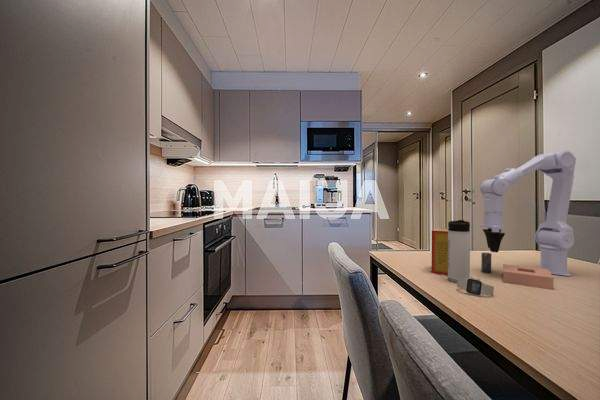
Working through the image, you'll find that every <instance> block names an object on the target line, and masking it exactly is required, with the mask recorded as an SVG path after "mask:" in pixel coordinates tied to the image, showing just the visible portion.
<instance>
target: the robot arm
mask: <svg viewBox="0 0 600 400" xmlns="http://www.w3.org/2000/svg"><path fill="white" fill-rule="evenodd" d="M576 160H577V158H576V157H575V155H574V153H572V152H571V151H570V150H565V149H564V150H560V151H556V152H555V151H554V152H549V153H540V154H538V155H536V156H534V157H532V159H530V160H528V161H527V162H526V163H525V162H524V164H521V166H519V167H517V168H513V167H511V168H509V167H508V168H505V169H504V170H503V172H502V173H500V174H496V175H494V176H493V177H492V179H485V180H484V181H483V182H482V183H481V185H480V186H479V191H480V192H481V194H482V198H483V223H480V224H479V227H484V228H483V229H482V231H483V233H484V235H485V236H484V237H485V239H486V245H487V248H488V249H489V251H490V252H491V253H498V252H499V251H500V246H501V242H502V240H503V238H504V237H505V236H506V233H505V232H502V229H504V227H505V225H504V195H505V194H506V193H507V192H508V190H509V189H510V188H511V187H514V186H515V185H517V184H519V183H521V182H522V181H523V178H524V177H526V176H527V175H529V174H531V173H533V172H535V171H537V170H538V171H540V172H541V173H542V174H545V176H547V177H549V178H551V179H552V183H551V190H550V196H549V201H548V207H547V213H546V218H545V221H544V222H542V223H540V224H539V225H538V228H537V230H536V232H535V235H534V240H535V242H536V244H537V245H538V247H540V265H539V266H537V268H541V269H548V270H549V272H550V273H551V275H557V276H566V277H571V273H569V271H568V251H570V250H571V249H570V248H572V247H573V246H574V243H575V237H574V230H575V229H573V228H572V226H570V225H569V224H567V219H568V213H569V207H570V203H571V195H572V190H573V184H574V179H575V174H574V173H575V166H576Z"/></svg>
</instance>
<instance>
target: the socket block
mask: <svg viewBox="0 0 600 400" xmlns="http://www.w3.org/2000/svg"><path fill="white" fill-rule="evenodd" d="M502 264H503V265H502V268H503V269H502V271H503V272H502V276H503V277H502V278H503V279H502V280H503V283H507V284H515V285H520V286H527V287H528V286H529V287H535V288H541V289H548V290H554V276H553V274H551V273H550V272H549V270H548V269H541V268H538V267H530V266H523V265H515V264H504V263H502Z"/></svg>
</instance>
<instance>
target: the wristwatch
mask: <svg viewBox="0 0 600 400" xmlns="http://www.w3.org/2000/svg"><path fill="white" fill-rule="evenodd" d="M456 287H457V288H459V289H462V290H464V291H465V292H466V293H467V295H469V296H475V297H479V296H482V295H483V296H489V297H493V296H494V291H495V290H494V289H495V287H494V286H493V285H489V284H488V283H487V284H486V283H484V282H482V281H481V279H480V278H474V277H472V276H470V277H469V279H460V278H458V280H457V283H456Z"/></svg>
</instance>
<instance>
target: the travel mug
mask: <svg viewBox="0 0 600 400" xmlns="http://www.w3.org/2000/svg"><path fill="white" fill-rule="evenodd" d="M447 224H448V225H447V226H448V228H447V229H448V275H447V280H448V281H449V282H452V283H453V284H454V283H455V284H457V280H458V278H460V279H469V278H470V277H471V276H470V275H471V274H470V273H471V272H470V271H471V269H470V268H471V264H470V263H471V230H470V229H471V222H469V221H467V220H464V219H458V220H450V221H448V222H447Z"/></svg>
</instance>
